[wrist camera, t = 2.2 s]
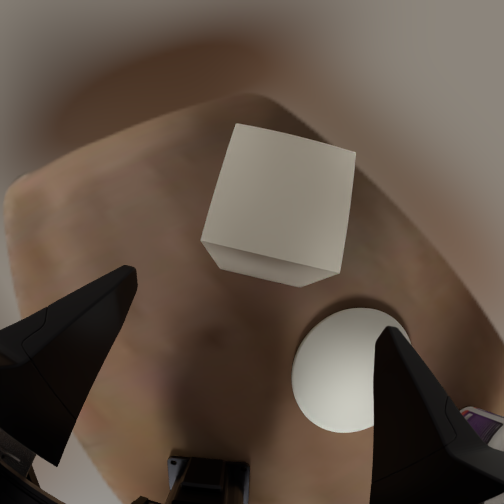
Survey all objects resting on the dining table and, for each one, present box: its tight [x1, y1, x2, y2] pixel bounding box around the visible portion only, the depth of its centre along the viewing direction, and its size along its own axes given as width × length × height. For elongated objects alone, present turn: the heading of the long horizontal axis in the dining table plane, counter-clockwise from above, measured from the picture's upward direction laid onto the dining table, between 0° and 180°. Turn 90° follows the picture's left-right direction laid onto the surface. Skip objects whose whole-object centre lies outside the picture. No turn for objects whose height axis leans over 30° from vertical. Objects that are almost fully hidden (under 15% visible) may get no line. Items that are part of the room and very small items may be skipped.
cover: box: [200, 123, 356, 287], centre depth 17 cm, size 6×6×10 cm
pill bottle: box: [460, 407, 504, 451], centre depth 14 cm, size 5×5×10 cm
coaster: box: [291, 308, 411, 433], centre depth 20 cm, size 10×10×1 cm
